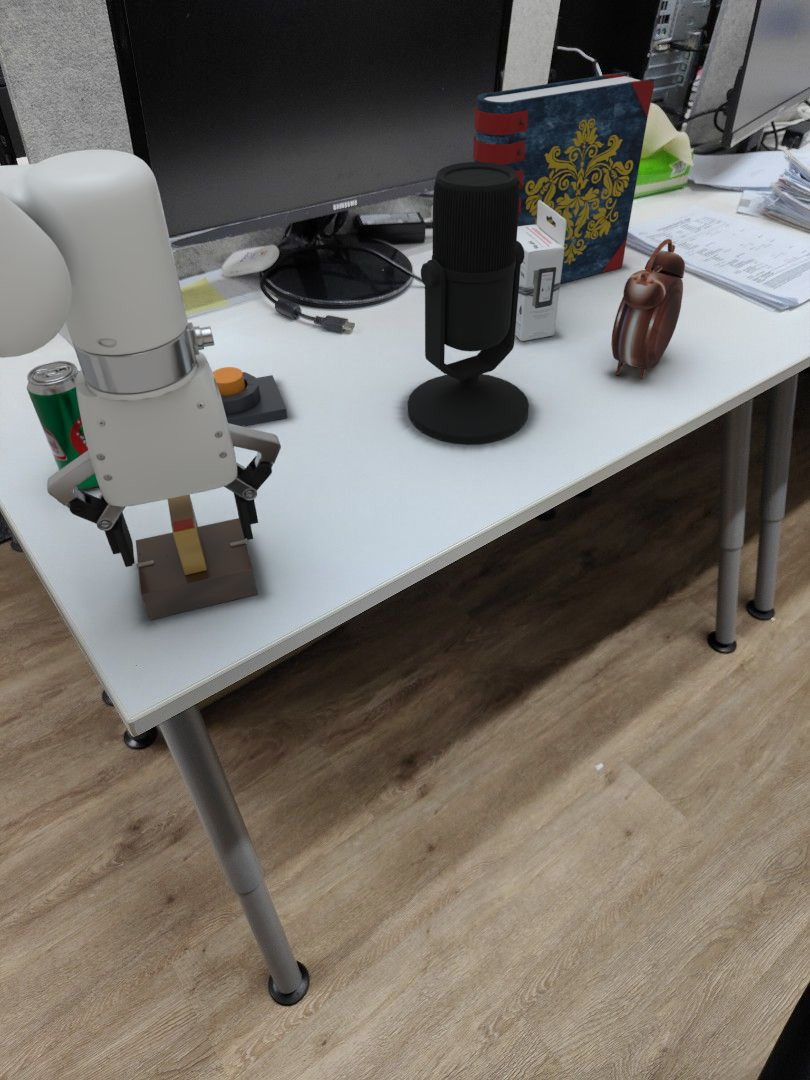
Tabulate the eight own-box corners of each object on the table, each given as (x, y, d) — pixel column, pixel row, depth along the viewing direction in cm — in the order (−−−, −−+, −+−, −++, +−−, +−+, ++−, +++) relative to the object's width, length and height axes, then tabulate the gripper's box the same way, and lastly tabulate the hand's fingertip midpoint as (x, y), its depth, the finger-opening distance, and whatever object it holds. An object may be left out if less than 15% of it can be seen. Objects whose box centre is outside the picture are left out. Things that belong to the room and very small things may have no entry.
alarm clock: (636, 344, 97) (659, 223, 87) (673, 354, 95) (702, 231, 85) (601, 381, 90) (622, 254, 80) (640, 392, 88) (667, 264, 78)
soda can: (61, 470, 79) (20, 366, 71) (111, 457, 80) (77, 353, 72) (67, 497, 75) (24, 391, 67) (119, 483, 77) (84, 377, 69)
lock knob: (178, 537, 66) (166, 494, 63) (199, 532, 66) (188, 489, 63) (185, 575, 62) (172, 531, 59) (207, 570, 63) (195, 526, 59)
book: (484, 306, 106) (495, 105, 89) (457, 288, 111) (463, 94, 94) (624, 269, 115) (658, 79, 98) (595, 253, 119) (622, 70, 103)
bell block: (188, 436, 83) (182, 412, 81) (180, 400, 89) (174, 377, 87) (287, 417, 85) (284, 394, 83) (273, 383, 91) (270, 361, 89)
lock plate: (148, 620, 63) (138, 593, 61) (142, 565, 68) (133, 538, 66) (259, 594, 65) (253, 567, 63) (245, 542, 70) (240, 515, 68)
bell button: (215, 399, 84) (212, 385, 82) (210, 383, 86) (207, 369, 85) (247, 393, 84) (245, 379, 83) (242, 378, 87) (240, 364, 86)
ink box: (495, 314, 104) (502, 202, 94) (528, 309, 105) (539, 197, 95) (520, 342, 98) (531, 225, 88) (556, 336, 99) (570, 220, 89)
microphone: (484, 369, 93) (496, 145, 76) (553, 421, 84) (583, 180, 67) (386, 399, 88) (376, 167, 71) (448, 458, 79) (453, 208, 62)
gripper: (254, 312, 57) (282, 494, 68) (5, 351, 53) (79, 537, 64) (273, 358, 51) (300, 547, 63) (-2, 405, 47) (80, 598, 59)
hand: (189, 542), depth 63 cm, fingers open, 9 cm apart
